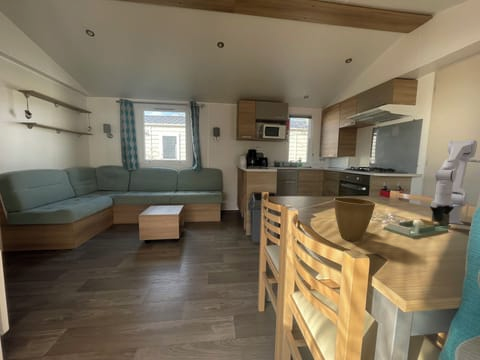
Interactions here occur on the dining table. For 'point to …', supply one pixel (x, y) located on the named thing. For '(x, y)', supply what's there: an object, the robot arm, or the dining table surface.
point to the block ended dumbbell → (443, 221)
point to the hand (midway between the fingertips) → (440, 220)
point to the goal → (402, 228)
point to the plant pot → (353, 217)
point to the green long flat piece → (420, 229)
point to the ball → (418, 223)
